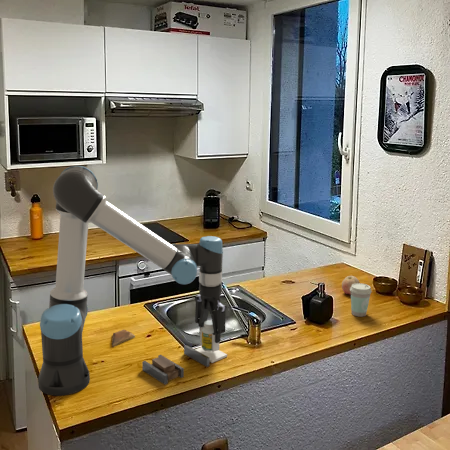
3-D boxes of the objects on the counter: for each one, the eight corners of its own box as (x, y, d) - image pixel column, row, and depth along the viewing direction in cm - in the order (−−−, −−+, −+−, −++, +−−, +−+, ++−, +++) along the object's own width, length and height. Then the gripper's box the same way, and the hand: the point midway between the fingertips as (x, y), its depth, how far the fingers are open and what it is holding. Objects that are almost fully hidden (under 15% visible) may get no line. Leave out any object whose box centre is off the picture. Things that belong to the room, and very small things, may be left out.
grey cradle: (164, 384, 168) (164, 375, 167) (142, 370, 177) (142, 361, 176) (209, 366, 180) (209, 357, 179) (186, 353, 189) (186, 345, 188)
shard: (112, 348, 192) (111, 344, 191) (98, 342, 196) (98, 337, 196) (135, 338, 200) (135, 334, 199) (122, 332, 205) (122, 328, 204)
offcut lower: (168, 382, 171) (168, 374, 170) (151, 371, 177) (151, 364, 176) (178, 377, 173) (178, 370, 173) (161, 367, 180) (161, 360, 179)
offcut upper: (164, 373, 171) (164, 367, 170) (152, 365, 176) (152, 359, 175) (174, 369, 173) (174, 364, 173) (162, 361, 178) (162, 355, 178)
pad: (211, 363, 182) (211, 360, 182) (192, 352, 189) (192, 350, 189) (227, 356, 187) (227, 354, 187) (207, 346, 194) (207, 344, 194)
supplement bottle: (218, 345, 190) (219, 319, 187) (215, 352, 184) (216, 326, 182) (203, 344, 190) (203, 318, 188) (200, 351, 185) (200, 324, 183)
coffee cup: (361, 319, 219) (363, 291, 216) (343, 313, 226) (346, 285, 223) (373, 314, 225) (376, 287, 222) (356, 308, 231) (358, 281, 228)
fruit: (337, 292, 249) (338, 275, 247) (351, 289, 253) (352, 273, 251) (349, 297, 243) (350, 280, 241) (362, 295, 246) (364, 278, 244)
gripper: (238, 287, 178) (236, 353, 183) (201, 273, 191) (200, 335, 196) (221, 293, 173) (219, 360, 178) (184, 278, 186) (184, 341, 191)
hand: (209, 347), depth 187 cm, fingers open, 5 cm apart
